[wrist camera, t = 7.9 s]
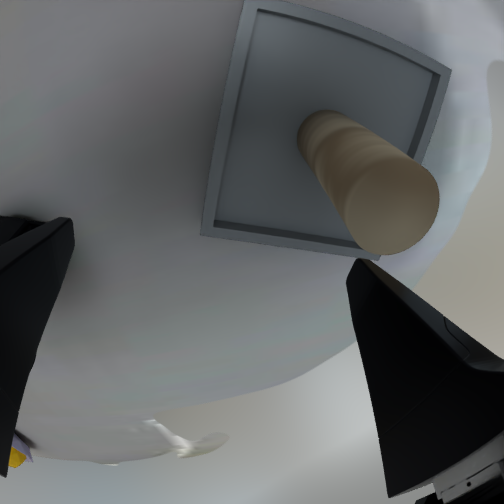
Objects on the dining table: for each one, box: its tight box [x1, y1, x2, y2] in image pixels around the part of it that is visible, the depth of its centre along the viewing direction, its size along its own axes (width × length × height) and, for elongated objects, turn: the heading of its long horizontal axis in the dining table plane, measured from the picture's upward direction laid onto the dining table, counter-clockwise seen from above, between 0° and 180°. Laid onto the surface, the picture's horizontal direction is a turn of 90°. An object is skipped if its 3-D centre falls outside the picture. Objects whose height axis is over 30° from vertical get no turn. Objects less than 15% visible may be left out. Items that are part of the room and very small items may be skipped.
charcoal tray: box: [200, 0, 452, 261], centre depth 19 cm, size 16×14×2 cm
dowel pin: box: [297, 110, 439, 255], centre depth 15 cm, size 4×4×10 cm
